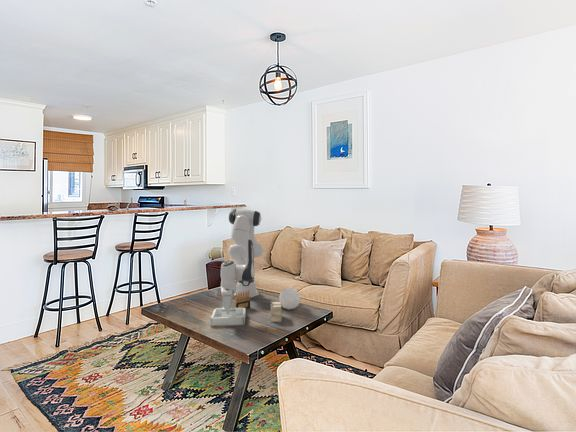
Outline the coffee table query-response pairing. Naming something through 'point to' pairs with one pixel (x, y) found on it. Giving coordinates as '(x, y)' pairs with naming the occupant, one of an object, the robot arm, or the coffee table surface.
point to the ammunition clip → (242, 300)
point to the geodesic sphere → (289, 298)
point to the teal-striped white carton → (231, 314)
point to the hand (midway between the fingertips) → (228, 311)
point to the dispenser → (275, 311)
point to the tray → (228, 318)
